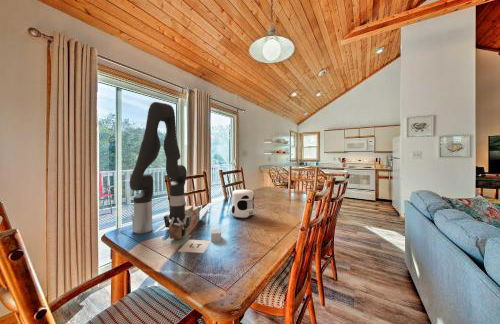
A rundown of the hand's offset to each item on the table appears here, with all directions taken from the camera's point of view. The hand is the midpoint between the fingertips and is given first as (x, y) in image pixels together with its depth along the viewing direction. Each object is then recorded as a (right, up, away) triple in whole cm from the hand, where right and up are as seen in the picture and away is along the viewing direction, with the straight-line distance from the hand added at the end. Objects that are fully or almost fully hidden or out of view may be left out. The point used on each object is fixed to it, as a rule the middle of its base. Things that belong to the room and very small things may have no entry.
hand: (177, 235), depth 102 cm
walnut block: (0, -1, 0) cm, 1 cm away
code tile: (+11, -3, -7) cm, 14 cm away
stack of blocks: (-1, -2, +21) cm, 21 cm away
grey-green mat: (0, -3, 0) cm, 3 cm away
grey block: (+20, -3, 0) cm, 20 cm away
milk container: (+33, -1, +39) cm, 51 cm away
